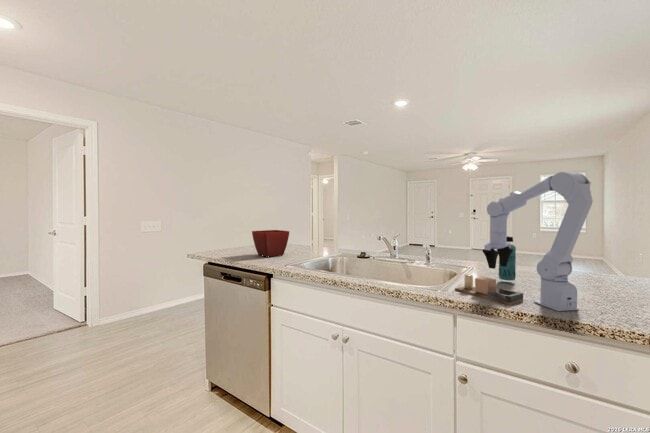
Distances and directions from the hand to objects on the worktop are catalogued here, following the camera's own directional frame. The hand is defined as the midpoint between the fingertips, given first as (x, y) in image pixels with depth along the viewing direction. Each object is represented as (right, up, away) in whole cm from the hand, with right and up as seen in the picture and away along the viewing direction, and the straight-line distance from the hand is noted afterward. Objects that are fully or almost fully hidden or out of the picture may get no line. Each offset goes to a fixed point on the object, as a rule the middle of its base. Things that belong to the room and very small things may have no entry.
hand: (497, 267), depth 120 cm
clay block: (-9, -8, -2) cm, 13 cm away
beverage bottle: (+12, -9, +13) cm, 20 cm away
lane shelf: (-7, -10, -6) cm, 13 cm away
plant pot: (-105, -7, +89) cm, 138 cm away
